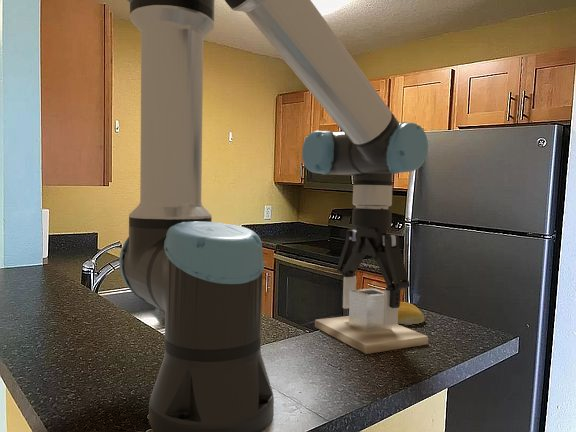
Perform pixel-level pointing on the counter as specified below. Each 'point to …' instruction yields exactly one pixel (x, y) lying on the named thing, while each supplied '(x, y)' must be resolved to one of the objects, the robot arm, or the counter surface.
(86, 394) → the counter surface
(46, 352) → the counter surface
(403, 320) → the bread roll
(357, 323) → the hollow square tube
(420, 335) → the block
